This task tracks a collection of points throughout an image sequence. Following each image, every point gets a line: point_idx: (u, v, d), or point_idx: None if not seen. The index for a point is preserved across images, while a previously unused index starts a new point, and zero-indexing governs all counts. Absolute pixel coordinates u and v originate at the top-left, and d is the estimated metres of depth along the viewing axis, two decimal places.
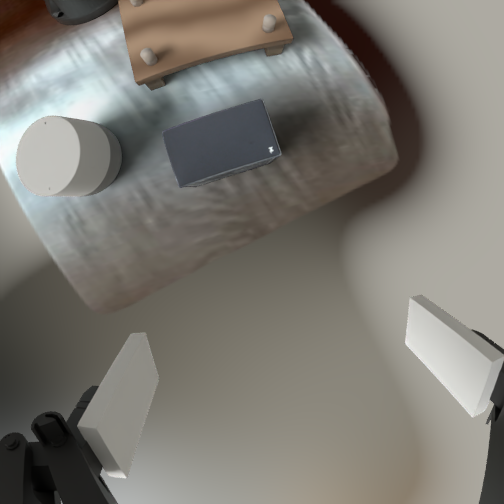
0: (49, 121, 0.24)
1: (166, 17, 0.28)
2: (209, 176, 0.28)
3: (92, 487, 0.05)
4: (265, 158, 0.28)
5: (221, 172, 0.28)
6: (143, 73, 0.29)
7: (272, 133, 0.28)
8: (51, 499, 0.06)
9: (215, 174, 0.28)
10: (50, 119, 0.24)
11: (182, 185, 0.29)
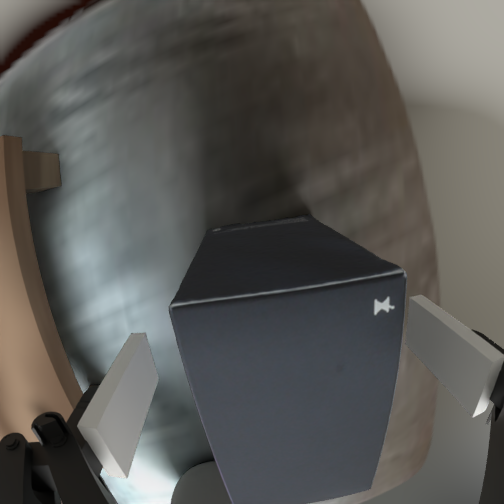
0: None
1: None
2: (381, 451, 0.09)
3: (92, 487, 0.05)
4: (402, 326, 0.07)
5: (385, 431, 0.08)
6: None
7: (326, 292, 0.07)
8: (51, 499, 0.06)
9: (383, 441, 0.09)
10: None
11: (370, 485, 0.09)
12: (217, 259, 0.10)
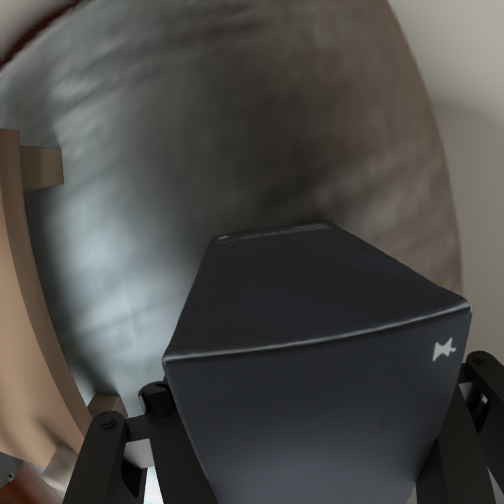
0: None
1: None
2: (411, 493, 0.07)
3: (193, 460, 0.06)
4: (459, 369, 0.05)
5: None
6: None
7: (379, 339, 0.05)
8: (136, 481, 0.07)
9: (415, 485, 0.06)
10: None
11: None
12: (226, 281, 0.08)
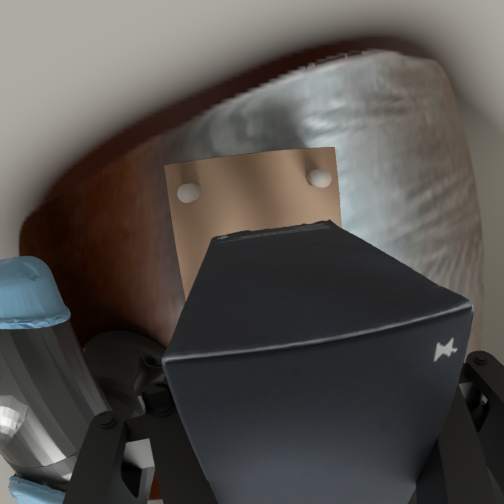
0: None
1: None
2: (411, 494, 0.06)
3: (193, 460, 0.06)
4: (460, 370, 0.05)
5: None
6: None
7: (380, 339, 0.05)
8: (136, 481, 0.07)
9: None
10: None
11: None
12: (226, 281, 0.08)
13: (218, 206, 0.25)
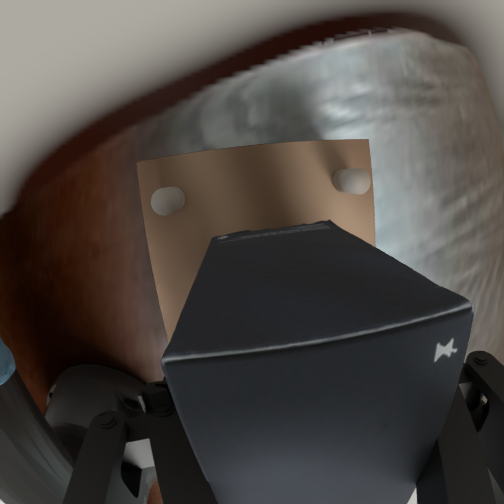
0: None
1: None
2: (411, 494, 0.06)
3: (193, 460, 0.06)
4: (460, 370, 0.05)
5: None
6: None
7: (380, 340, 0.05)
8: (136, 481, 0.07)
9: (415, 486, 0.06)
10: None
11: None
12: (226, 281, 0.08)
13: (210, 219, 0.18)
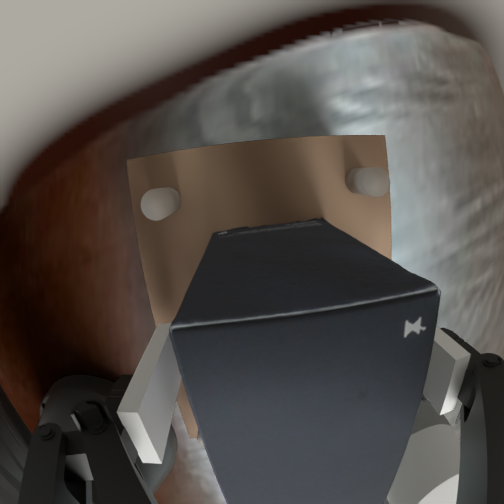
0: None
1: None
2: (396, 473, 0.08)
3: (130, 475, 0.06)
4: (431, 348, 0.06)
5: (403, 454, 0.07)
6: None
7: (353, 314, 0.06)
8: (82, 491, 0.06)
9: (399, 464, 0.07)
10: None
11: None
12: (224, 268, 0.09)
13: (209, 223, 0.16)
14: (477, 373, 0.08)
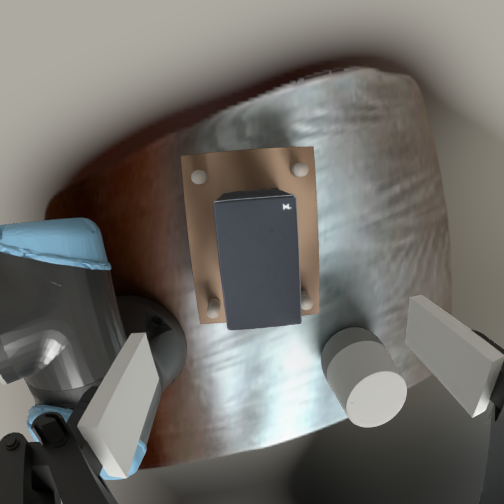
0: (352, 398, 0.31)
1: None
2: (299, 288, 0.24)
3: (92, 487, 0.05)
4: (296, 216, 0.22)
5: (299, 273, 0.23)
6: (313, 305, 0.35)
7: (265, 199, 0.22)
8: (51, 499, 0.06)
9: (299, 281, 0.23)
10: (351, 397, 0.31)
11: (300, 319, 0.24)
12: (229, 196, 0.25)
13: (221, 189, 0.32)
14: None
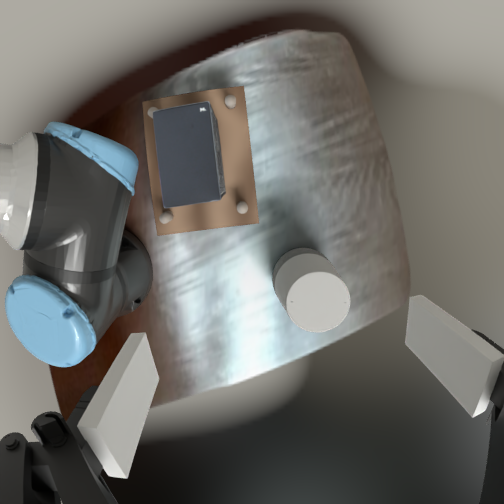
0: (291, 297, 0.37)
1: None
2: (216, 169, 0.30)
3: (92, 487, 0.05)
4: (210, 115, 0.28)
5: (215, 157, 0.29)
6: (252, 215, 0.41)
7: (187, 106, 0.28)
8: (51, 499, 0.06)
9: (215, 163, 0.30)
10: (290, 296, 0.37)
11: (219, 196, 0.30)
12: None
13: None
14: None
